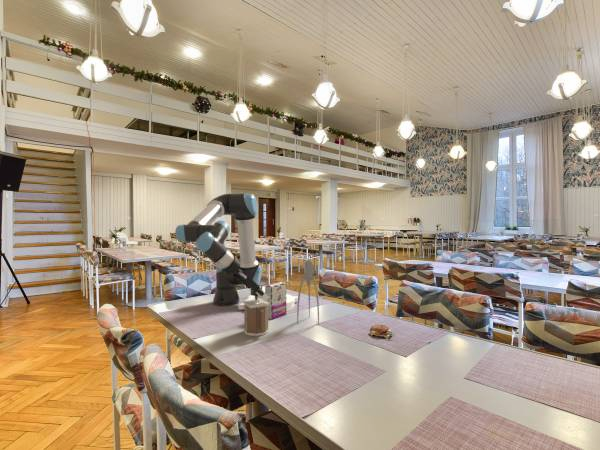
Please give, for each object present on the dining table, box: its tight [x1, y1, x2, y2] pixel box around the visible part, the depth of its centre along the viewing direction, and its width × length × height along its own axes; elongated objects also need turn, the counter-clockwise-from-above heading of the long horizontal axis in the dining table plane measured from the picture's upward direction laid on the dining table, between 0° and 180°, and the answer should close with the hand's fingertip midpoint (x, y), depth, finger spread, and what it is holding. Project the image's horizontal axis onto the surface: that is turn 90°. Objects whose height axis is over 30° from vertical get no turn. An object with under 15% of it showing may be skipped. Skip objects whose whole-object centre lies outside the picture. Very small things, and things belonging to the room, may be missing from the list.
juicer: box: [296, 258, 320, 324], centre depth 151 cm, size 10×9×30 cm
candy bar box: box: [264, 281, 287, 320], centre depth 157 cm, size 11×5×16 cm, turn 142°
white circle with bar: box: [237, 293, 298, 312], centre depth 176 cm, size 28×28×5 cm
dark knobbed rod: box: [250, 284, 263, 303], centre depth 135 cm, size 5×5×18 cm
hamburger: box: [369, 324, 394, 341], centre depth 131 cm, size 14×14×6 cm
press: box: [242, 299, 270, 337], centre depth 134 cm, size 13×10×13 cm
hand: (264, 297), depth 137 cm, fingers closed on dark knobbed rod, 5 cm apart
